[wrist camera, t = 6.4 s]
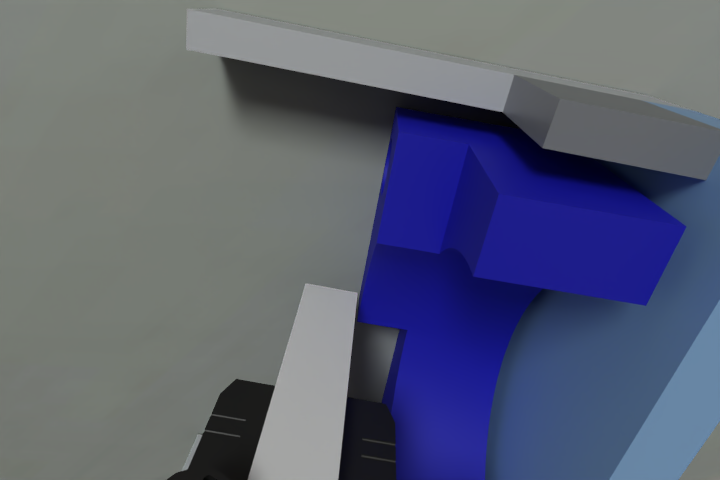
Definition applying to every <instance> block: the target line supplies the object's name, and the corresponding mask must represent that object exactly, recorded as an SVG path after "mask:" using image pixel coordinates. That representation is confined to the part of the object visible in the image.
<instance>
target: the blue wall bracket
mask: <svg viewBox="0 0 720 480" xmlns="http://www.w3.org/2000/svg"><path fill="white" fill-rule="evenodd" d="M186 49H187V50H192V51H197V52H202V53H207V54H212V55H217V56H222V57H227V58H232V59H237V60H242V61H247V62H252V63H257V64H262V65H267V66H272V67H277V68H282V69H287V70H292V71H298V72H303V73H308V74H313V75H318V76H323V77H328V78H333V79H338V80H343V81H348V82H353V83H358V84H363V85H368V86H373V87H378V88H383V89H388V90H393V91H398V92H403V93H408V94H413V95H419V96H424V97H429V98H434V99H439V100H444V101H449V102H454V103H459V104H464V105H469V106H474V107H479V108H484V109H489V110H494V111H499V112H503V113H504V114H505V115H506V116H507V117H509V118H510V119H511V120H512V121H513V122H514V123H515V124H516V125H517V126H519V127H520V128H521V129H522V130H523V131H524V132H525V133H526V134H527V135H528V136H530V137H531V138H532V139H533V140H534V141H535V142H536V143H537V144H538V145H540V146H541V147H542V148H545V149H550V150H555V151H560V152H565V153H570V154H575V155H580V156H585V157H590V158H593V159H594V160H596V161H597V162H599V163H600V164H601V165H603V166H604V167H605V168H607V169H608V170H610V171H611V172H612V173H614V174H615V175H616V176H618V177H619V178H621V179H622V180H623V181H625V182H626V183H627V184H629V185H630V186H632V187H633V188H634V189H636V190H637V191H638V192H640V193H641V194H643V195H644V196H645V197H647V198H648V199H649V200H651V201H652V202H654V203H655V204H656V205H658V206H659V207H660V208H662V209H663V210H665V211H666V212H667V213H669V214H670V215H671V216H673V217H674V218H676V219H677V220H678V221H680V222H681V223H682V224H684V225H685V226H687V227H686V229H685V231H684V233H683V235H682V237H681V239H680V241H679V243H678V245H677V246H676V248H675V250H674V252H673V254H672V256H671V258H670V260H669V262H668V264H667V266H666V268H665V270H664V272H663V274H662V276H661V278H660V280H659V282H658V284H657V286H656V287H655V289H654V291H653V293H652V295H651V297H650V299H649V301H648V303H647V305H646V306H644V305H638V304H632V303H626V302H620V301H615V300H609V299H603V298H597V297H591V296H585V295H579V294H573V293H567V292H561V291H555V290H549V289H542V290H541V291H540V292H539V293H538V294H537V295H536V297H535V298H534V299H533V300H532V302H531V303H530V304H529V306H528V307H527V309H526V310H525V312H524V313H523V315H522V316H521V318H520V320H519V322H518V324H517V326H516V328H515V330H514V332H513V334H512V337H511V339H510V341H509V344H508V347H507V349H506V352H505V355H504V358H503V361H502V364H501V368H500V371H499V375H498V379H497V383H496V388H495V392H494V397H493V402H492V408H491V414H490V421H489V429H488V439H487V450H486V467H485V480H678V479H679V478H680V476H681V475H682V474H683V472H684V471H685V469H686V468H687V467H688V465H689V464H690V462H691V461H692V460H693V458H694V457H695V455H696V454H697V452H698V451H699V450H700V448H701V447H702V445H703V444H704V443H705V441H706V440H707V438H708V437H709V436H710V434H711V433H712V431H713V430H714V428H715V427H716V426H717V424H718V423H719V421H720V119H717V118H714V117H711V116H708V115H705V114H702V113H699V112H696V111H693V110H690V109H687V108H684V107H681V106H678V105H676V104H673V103H670V102H667V101H664V100H661V99H658V98H655V97H652V96H648V95H643V94H639V93H634V92H629V91H624V90H619V89H614V88H609V87H604V86H599V85H594V84H589V83H584V82H579V81H574V80H569V79H564V78H559V77H554V76H549V75H544V74H539V73H534V72H529V71H524V70H519V69H515V68H510V67H505V66H500V65H495V64H490V63H485V62H480V61H475V60H470V59H465V58H460V57H455V56H450V55H445V54H440V53H435V52H430V51H425V50H420V49H415V48H410V47H405V46H400V45H396V44H391V43H386V42H381V41H376V40H371V39H366V38H361V37H356V36H351V35H346V34H341V33H336V32H331V31H326V30H321V29H316V28H311V27H306V26H301V25H296V24H291V23H286V22H281V21H277V20H272V19H267V18H262V17H257V16H252V15H247V14H242V13H237V12H232V11H227V10H222V9H187V35H186ZM201 437H202V435H201V434H198V435H197V437H196V440H195V442H194V444H193V446H192V449H191V451H190V453H189V455H188V458H187V460H186V462H185V464H184V467H183V469H182V471H184V470H187V469H188V467H189V465H190V463H191V460H192V458H193V456H194V453H195V451H196V449H197V446H198V444H199V442H200V440H201Z"/></svg>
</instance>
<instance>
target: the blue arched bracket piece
mask: <svg viewBox="0 0 720 480" xmlns="http://www.w3.org/2000/svg"><path fill="white" fill-rule="evenodd" d="M686 227H687V226H685V225H684V224H682V223H681V222H680V221H678V220H677V219H676V218H674V217H673V216H671V215H670V214H669V213H667V212H666V211H665V210H663V209H662V208H660V207H659V206H658V205H656V204H655V203H654V202H652V201H651V200H649V199H648V198H647V197H645V196H644V195H643V194H641V193H640V192H638V191H637V190H636V189H634V188H633V187H632V186H630V185H629V184H627V183H626V182H625V181H623V180H622V179H621V178H619V177H618V176H616V175H615V174H614V173H612V172H611V171H610V170H608V169H607V168H605V167H604V166H603V165H601V164H600V163H599V162H597V161H596V160H594V159H593V158H590V157H585V156H580V155H575V154H570V153H565V152H560V151H555V150H550V149H545V148H542V147H541V146H540V145H538V144H537V143H536V142H535V141H534V140H533V139H532V138H531V137H530V136H528V135H527V134H526V133H525V132H524V131H523V130H522V129H517V128H512V127H506V126H500V125H495V124H489V123H484V122H478V121H472V120H467V119H461V118H456V117H450V116H444V115H439V114H433V113H427V112H422V111H416V110H411V109H405V108H399V107H396V111H395V116H394V121H393V127H392V132H391V137H390V142H389V147H388V152H387V157H386V163H385V168H384V173H383V178H382V183H381V188H380V193H379V199H378V204H377V209H376V214H375V219H374V224H373V230H372V235H371V240H370V245H369V250H368V255H367V260H366V266H365V271H364V276H363V281H362V286H361V291H360V296H359V307H358V317H357V322H362V323H368V324H374V325H380V326H386V327H392V328H398V329H400V330H399V334H398V338H397V342H396V346H395V350H394V354H393V359H392V363H391V367H390V371H389V375H388V379H387V383H386V387H385V391H384V395H383V399H382V403H383V404H386V405H387V407H388V409H389V411H390V413H391V415H392V417H393V419H394V421H395V435H396V444H395V447H396V480H485V467H486V450H487V439H488V429H489V421H490V414H491V408H492V402H493V397H494V392H495V388H496V383H497V379H498V375H499V371H500V368H501V364H502V361H503V358H504V355H505V352H506V349H507V347H508V344H509V341H510V339H511V337H512V334H513V332H514V330H515V328H516V326H517V324H518V322H519V320H520V318H521V316H522V315H523V313H524V312H525V310H526V309H527V307H528V306H529V304H530V303H531V302H532V300H533V299H534V298H535V297H536V295H537V294H538V293H539V292H540V291H541V290H542V289H549V290H555V291H561V292H567V293H573V294H579V295H585V296H591V297H597V298H603V299H609V300H615V301H620V302H626V303H632V304H638V305H644V306H646V305H647V303H648V301H649V299H650V297H651V295H652V293H653V291H654V289H655V287H656V286H657V284H658V282H659V280H660V278H661V276H662V274H663V272H664V270H665V268H666V266H667V264H668V262H669V260H670V258H671V256H672V254H673V252H674V250H675V248H676V246H677V245H678V243H679V241H680V239H681V237H682V235H683V233H684V231H685V229H686Z"/></svg>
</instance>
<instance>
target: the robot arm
mask: <svg viewBox="0 0 720 480" xmlns="http://www.w3.org/2000/svg"><path fill="white" fill-rule="evenodd" d="M357 294H358V293H356V292H351V291H345V290H340V289H334V288H329V287H323V286H318V285H312V284H307V283H306V284H305V287H304V290H303V294H302V297H301V301H300V304H299V307H298V311H297V314H296V318H295V321H294V324H293V328H292V331H291V335H290V338H289V341H288V345H287V348H286V351H285V355H284V358H283V362H282V365H281V368H280V372H279V375H278V379H277V382H276V385H275V386H273V385H267V384H261V383H255V382H250V381H244V380H238V379H236V380H235V381H234V382H232V383H231V384H230V385H229V386H228V387H227V388H226V389H225V390H224V391H223V392H222V393H221V394H220V396H219V398H218V400H217V402H216V405H215V407H214V409H213V412H212V415H211V417H210V419H209V421H208V423H207V426H206V428H205V432H204V433H203V435H202V437H201V440H200V442H199V444H198V446H197V449H196V451H195V453H194V456H193V458H192V460H191V463H190V465H189V467H188V469H187V470H184V471H181V472H178V473H175V474H174V475H172V476H171V477H170V478H168V479H167V480H396V447H395V444H396V435H395V421H394V419H393V417H392V415H391V413H390V411H389V409H388V407H387V405H386V404H383V403H377V402H371V401H366V400H360V399H354V398H349V397H347V391H348V381H349V371H350V362H351V352H352V342H353V333H354V323H355V313H356V303H357Z"/></svg>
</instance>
